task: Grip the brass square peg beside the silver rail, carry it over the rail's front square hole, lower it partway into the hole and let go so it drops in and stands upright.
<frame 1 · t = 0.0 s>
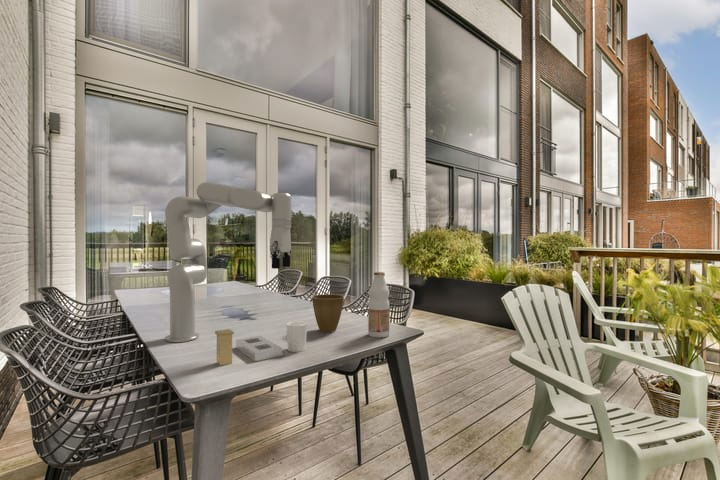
hand: (281, 267, 143), 31 cm above the table, tool pointing down, fingers open, 9 cm apart
white cup: (296, 349, 139), on the table
brass square peg: (224, 362, 123), on the table
fruit juice: (378, 335, 160), on the table
plant pot: (328, 331, 168), on the table
rail: (258, 351, 136), on the table
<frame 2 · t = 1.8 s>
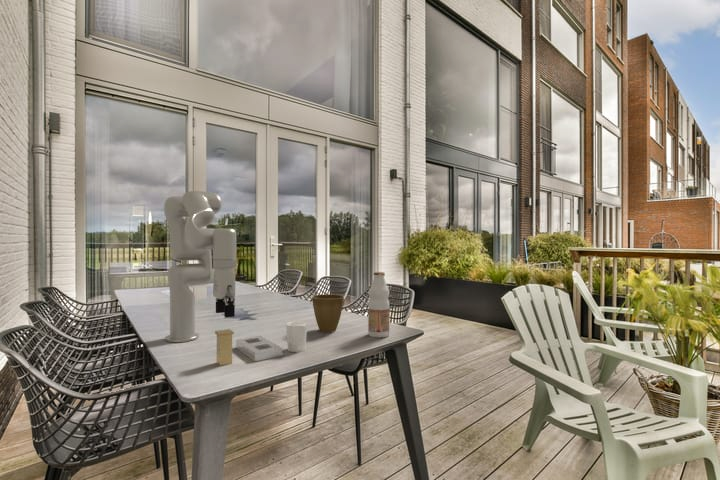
hand: (224, 314, 123), 17 cm above the table, tool pointing down, fingers open, 9 cm apart
nothing on the table moved.
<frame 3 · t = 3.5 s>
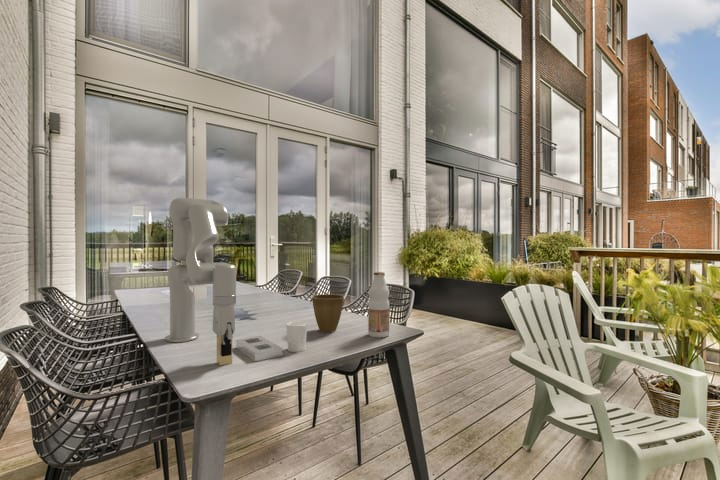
hand: (224, 353, 123), 3 cm above the table, tool pointing down, fingers closed on brass square peg, 4 cm apart
brass square peg: (224, 362, 123), on the table, touching gripper
everything else where it was.
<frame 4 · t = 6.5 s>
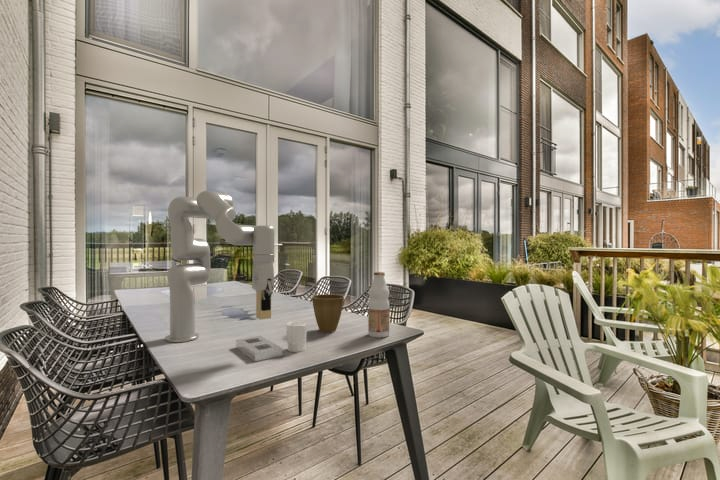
hand: (263, 308, 132), 17 cm above the table, tool pointing down, fingers closed on brass square peg, 4 cm apart
brass square peg: (263, 317, 132), point 14 cm above the table, touching gripper
everything else where it was.
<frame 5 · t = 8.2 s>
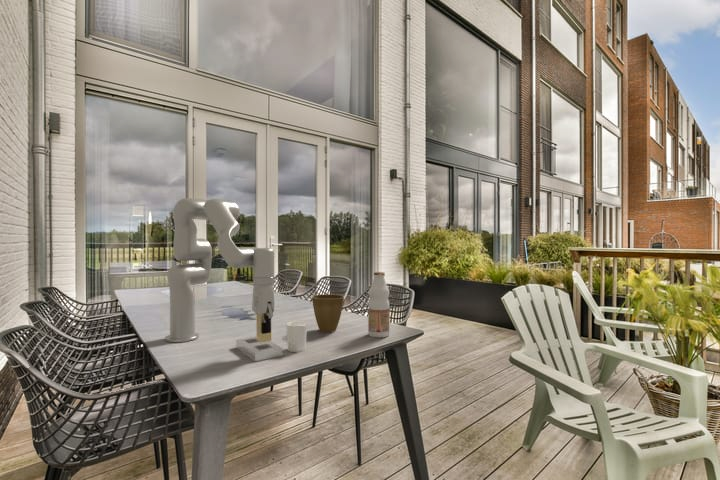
hand: (263, 331, 132), 9 cm above the table, tool pointing down, fingers closed on brass square peg, 4 cm apart
brass square peg: (263, 340, 132), point 5 cm above the table, touching gripper
everything else where it was.
when the fingers open (4 cm above the table, at t = 9.6 s): brass square peg stays where it is, resting in rail.
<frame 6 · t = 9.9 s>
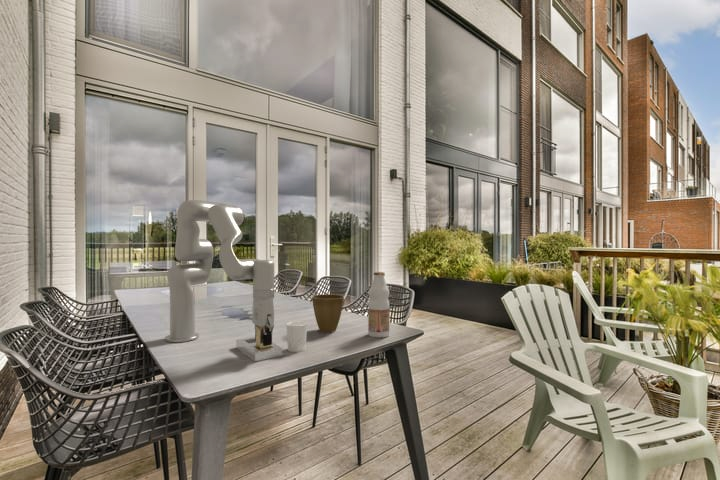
hand: (263, 342, 132), 5 cm above the table, tool pointing down, fingers open, 6 cm apart
brass square peg: (263, 355, 132), resting in rail
everything else where it was.
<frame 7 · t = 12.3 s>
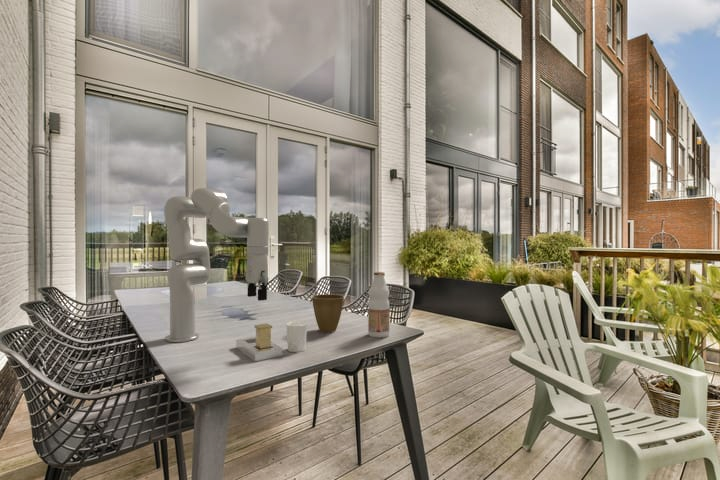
hand: (256, 298, 132), 21 cm above the table, tool pointing down, fingers open, 9 cm apart
nothing on the table moved.
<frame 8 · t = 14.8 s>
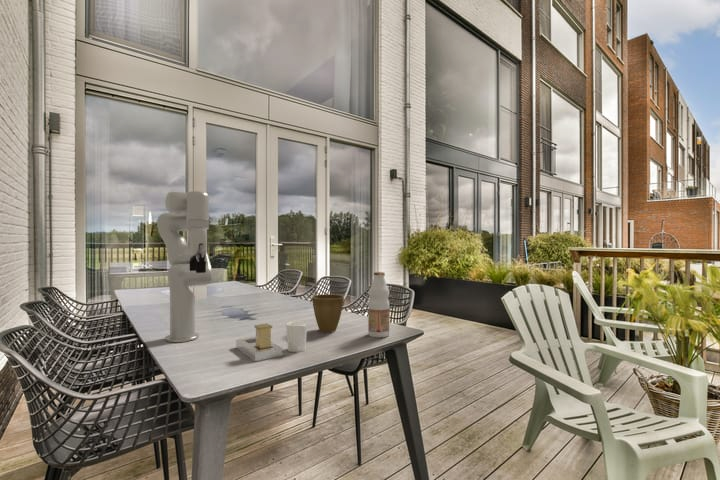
hand: (197, 271, 133), 30 cm above the table, tool pointing down, fingers open, 9 cm apart
nothing on the table moved.
at the end: brass square peg 0.1 cm from the target spot on the rail, point 0.0 cm above the rail's base; brass square peg tilted 0°; the gripper is holding nothing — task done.
